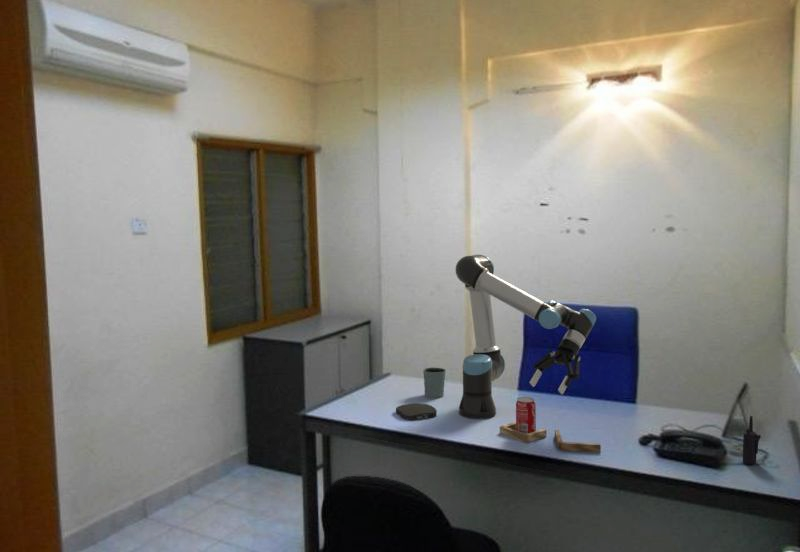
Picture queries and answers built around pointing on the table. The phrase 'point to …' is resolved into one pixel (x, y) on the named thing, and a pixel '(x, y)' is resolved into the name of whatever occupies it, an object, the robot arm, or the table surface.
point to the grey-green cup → (434, 382)
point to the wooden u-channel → (511, 432)
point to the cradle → (576, 445)
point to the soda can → (525, 415)
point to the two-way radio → (750, 444)
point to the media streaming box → (416, 411)
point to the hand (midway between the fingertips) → (545, 388)
